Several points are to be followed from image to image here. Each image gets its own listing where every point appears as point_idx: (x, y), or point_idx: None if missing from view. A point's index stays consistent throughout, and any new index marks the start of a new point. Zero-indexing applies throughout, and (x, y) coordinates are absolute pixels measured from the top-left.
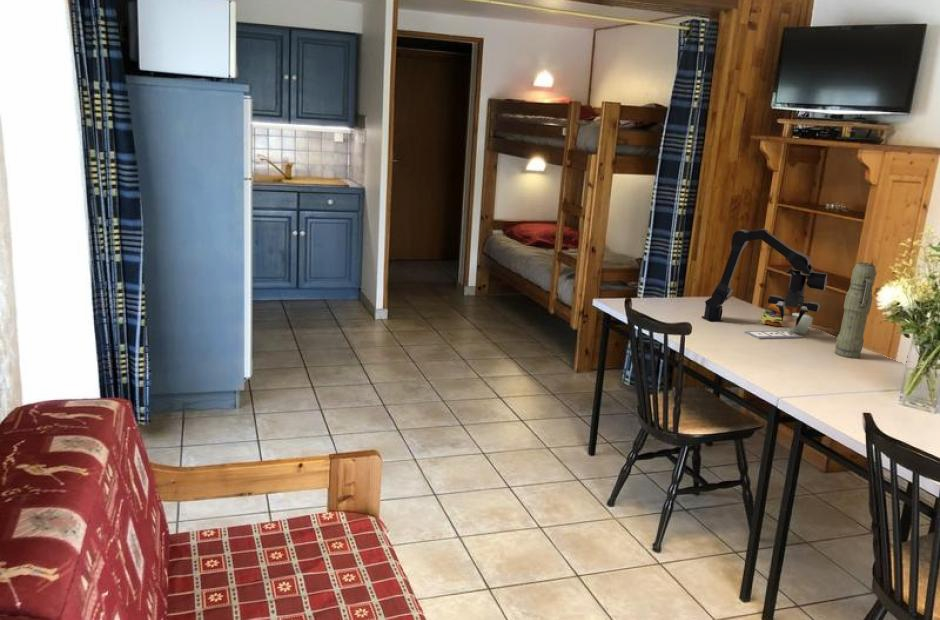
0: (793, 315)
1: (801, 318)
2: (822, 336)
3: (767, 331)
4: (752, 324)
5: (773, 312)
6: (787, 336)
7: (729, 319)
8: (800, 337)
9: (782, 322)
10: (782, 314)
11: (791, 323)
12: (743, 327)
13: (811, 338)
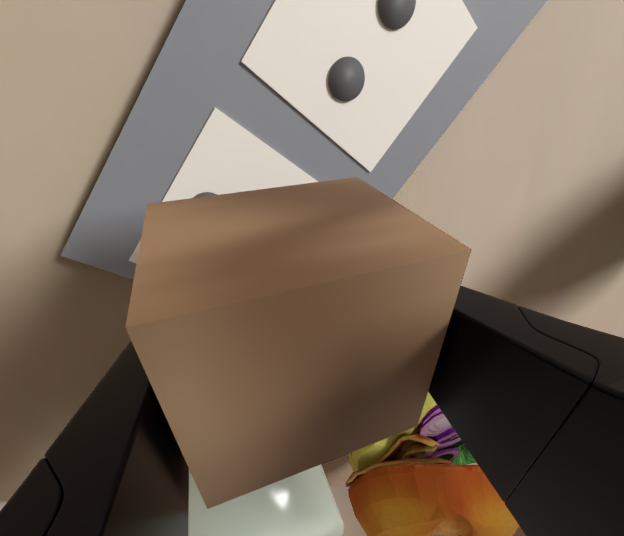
0: (321, 504)
1: (217, 520)
2: (10, 466)
3: (436, 108)
4: (506, 273)
5: (449, 459)
6: (196, 62)
7: (608, 253)
8: (78, 221)
9: (382, 197)
10: (496, 315)
11: (229, 224)
12: (589, 121)
13: (2, 328)
